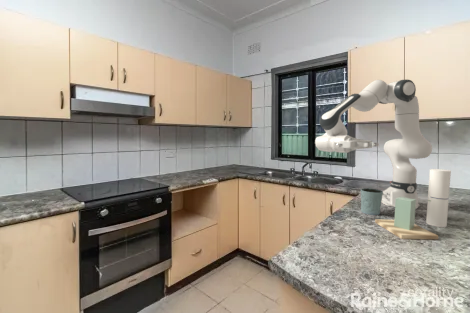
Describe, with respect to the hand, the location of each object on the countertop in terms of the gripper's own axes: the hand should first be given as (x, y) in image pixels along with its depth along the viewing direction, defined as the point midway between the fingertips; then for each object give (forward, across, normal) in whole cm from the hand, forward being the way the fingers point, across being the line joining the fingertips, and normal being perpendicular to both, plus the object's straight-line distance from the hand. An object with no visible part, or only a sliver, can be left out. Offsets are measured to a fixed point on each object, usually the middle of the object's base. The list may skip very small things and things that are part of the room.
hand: (373, 144), depth 109 cm
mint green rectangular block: (+14, 0, +34) cm, 37 cm away
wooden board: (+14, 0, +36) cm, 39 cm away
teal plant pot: (-6, +14, +36) cm, 39 cm away
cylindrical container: (+20, +21, +36) cm, 46 cm away
